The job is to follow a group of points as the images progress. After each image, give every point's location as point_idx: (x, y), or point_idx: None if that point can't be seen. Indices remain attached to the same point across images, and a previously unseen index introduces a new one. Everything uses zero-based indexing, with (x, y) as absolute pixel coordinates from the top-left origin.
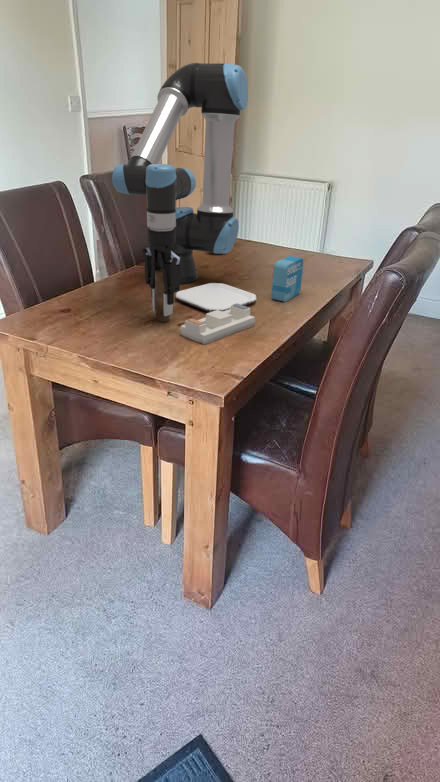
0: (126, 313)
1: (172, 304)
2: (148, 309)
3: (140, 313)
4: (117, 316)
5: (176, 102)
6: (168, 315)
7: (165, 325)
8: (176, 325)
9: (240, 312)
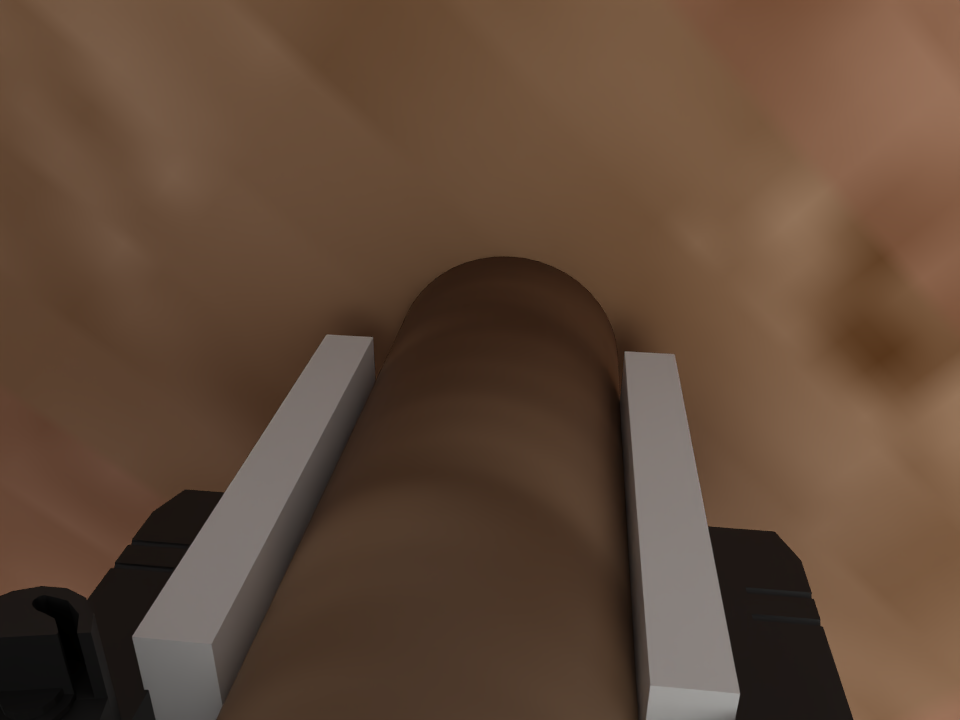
0: (20, 516)
1: (692, 459)
2: (15, 213)
3: (109, 404)
4: None
5: None
6: (618, 391)
7: (703, 485)
8: (835, 388)
9: None
